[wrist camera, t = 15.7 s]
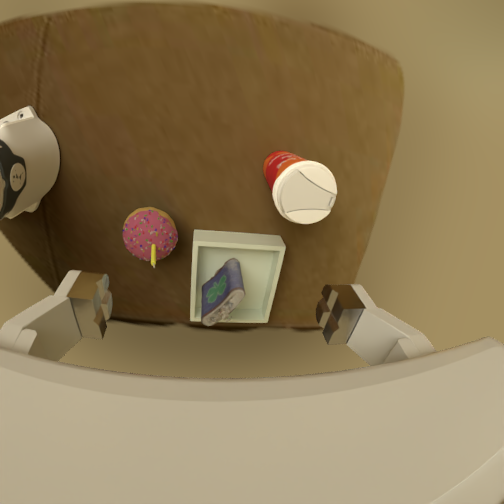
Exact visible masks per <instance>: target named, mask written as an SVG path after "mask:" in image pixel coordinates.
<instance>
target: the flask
mask: <svg viewBox="0 0 504 504" xmlns="http://www.w3.org/2000/svg"><path fill="white" fill-rule="evenodd" d="M244 296H245V289H244V285H243V279H242V274H241V268H240V262H239V261H238V260H237V259H235V258H231V259H229V260H228V261H226V262H225V263H224V265H223V266H222V267H221V268H220V269H218V270H217V271H216V272H215V275H214V276H213V277H211V278H210V280H209V281H207V282H206V283H204V284H203V285H202V299H201V304H202V306H201V323H202V324H204V325H206V326H211V325H214V324H215V323H217V322H218V321H220V320H222V319H223V320H225V319H226V318H228V317H229V314H230V313H231V312H232V311H233V310H234V309H235V308H236V307H237V306H238V304H239V303H240V302H241V301H242V299H243V298H244ZM231 318H232V316H231ZM230 320H231V319H227V320H225V322H228V321H230Z"/></svg>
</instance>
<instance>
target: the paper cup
mask: <svg viewBox="0 0 504 504" xmlns="http://www.w3.org/2000/svg"><path fill="white" fill-rule="evenodd" d="M263 172H264V176H265V178H266V180H267V183H268V185H269V187H270V189H271V191H272V196H273V199H274V202H275V205H276V207H277V210H278V211H279V212H280V214H281V215H282V216H283V217H285V218H286V219H287V220H289V221H291V222H295V223H300V224H311V223H315V222H318V221H320V220H322V219H323V218H325V217H326V216H327V215H328V214H329V213H330V212H331V211H330V210H331V208H332V207H333V205H334V202H335V199H336V194H337V188H336V181H335V179H334V176H333V175H332V173H331V172H330V170H329V169H328V168H326V167H325V166H324V165H322V164H320V163H318V162H314V161H308V160H306V159H303V158H301V157H299V156H297V155H294V154H292V153H289V152H286V151H276V152H273V153H272V154H270V155H269V156H268V157H267V158H266V160H265V162H264V165H263Z"/></svg>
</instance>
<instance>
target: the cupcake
mask: <svg viewBox="0 0 504 504" xmlns="http://www.w3.org/2000/svg"><path fill="white" fill-rule="evenodd" d="M123 240H124V243H125V246H126V248H127V250H129V252H131V253H132V255H134V256H136V257H138V258H140V260H141V259H142V260H145V261H151V265H153V267H154V268H155V265H156V260H160V259H163V258H165V257H166V256H167V255H169V254H170V253H171V251H172V250H173V249H175V245H176V243H177V241H178V232H177V230H176V226H175V223H174V221H173V220H172V219H171V217H170V216H169V215H168V214H167V213H166V212H164V211H161V210H159V209H156V208H154V207H145V208H139V209H137V210H135V211H134V212H133V213H131V214H130V215H129V216H128V217H127V219H126V221H125V223H124V227H123Z"/></svg>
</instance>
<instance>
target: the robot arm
mask: <svg viewBox="0 0 504 504" xmlns="http://www.w3.org/2000/svg"><path fill="white" fill-rule="evenodd" d="M22 114H23V117H22ZM59 165H60V153H59V147H58V143H57V140H56V138H55V135H54V134H53V132H52V130H51V129H50V128H49V127H48V126H47V125H46V124H45V123H44V122H42V121H41V120H40V119H39V118H38V117H37V114H36V112H35V110H34V109H33V107H31V106H27V107H25V108H22V109H20V110H18V111H16V112H14V113H12V114H10V115H8V116H6V117H4V118H3V119H1V120H0V220H2V219H3V218H4V217H8V218H9V219H12V218H14V217H15V216H17V215H18V214H20V213H21V212H23V211H27V212H33V211H35V210H36V209H37V208H38V206H39V203H40V201H41V199H42V197H43V196H44V195H45V194H46V193H47V192H48V191H49V190H50V189H51V188H52V186H53V185H54V183H55V181H56V178H57V175H58V171H59ZM108 286H109V278H108V275H107V274H106V273H97V272H88V271H79V270H70V271H69V272H68V273H67V275H66V276H65V278H64V279H63V281H62V283H61V284H60V286H59V287H58V289H57V291H56V292H55V294H54V296H53V295H50V296H48V297H46V298H45V299H43V300H41V301H39V302H38V303H36V304H34V305H33V306H31V307H30V308H28V309H26V310H24V311H23V312H21V313H19V314H18V315H16V316H15V317H13V318H12V319H10V320H8V321H7V322H5V323H4V325H3V327H2V328H1V330H0V504H504V344H503V343H501V342H499V341H498V340H496V339H494V338H492V337H484V338H481V339H478V340H475V341H472V342H469V343H466V344H462V345H459V346H456V347H452V348H449V349H445V350H442V351H438V352H436V350H435V349H434V347H433V346H432V345H431V343H430V342H429V340H428V339H427V338H426V336H425V335H424V334H423V333H421V332H420V331H418V330H416V329H415V328H413V327H411V326H410V325H408V324H406V323H405V322H403V321H401V320H400V319H398V318H396V317H395V316H393V315H391V314H389V313H388V312H386V311H385V310H383V309H381V308H377V306H376V305H375V304H374V302H373V301H372V299H371V298H370V297H369V295H368V294H367V292H366V291H365V290H364V288H363V287H362V286H361V285H359V284H348V285H325V286H324V288H323V290H322V295H323V298H322V299H321V300H320V301H319V302H318V304H317V308H316V319H317V322H318V324H319V325H320V326H321V327H323V328H324V330H323V332H322V333H323V335H324V337H325V340H326V342H327V344H328V345H334V344H347V346H349V347H350V348H351V349H352V350H353V351H354V352H355V353H357V354H358V355H359V356H360V357H361V358H362V359H363V360H364V361H366V362H367V363H368V364H369V365H370V366H368V367H362V368H356V369H350V370H343V371H335V372H327V373H318V374H307V375H297V376H282V377H263V378H185V377H167V376H153V375H143V374H133V373H125V372H117V371H109V370H102V369H96V368H90V367H84V366H78V365H73V364H68V363H63V362H58V361H59V360H60V359H61V358H62V357H63V356H64V355H65V354H66V353H67V352H68V351H69V350H70V349H71V348H72V347H73V346H74V345H75V344H76V343H78V341H80V340H81V339H82V337H85V338H94V339H103V337H104V334H105V331H106V328H107V325H106V320H108V319H109V318H110V315H111V312H112V295H111V293H110V291H109V290H108V289H107V288H108Z"/></svg>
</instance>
